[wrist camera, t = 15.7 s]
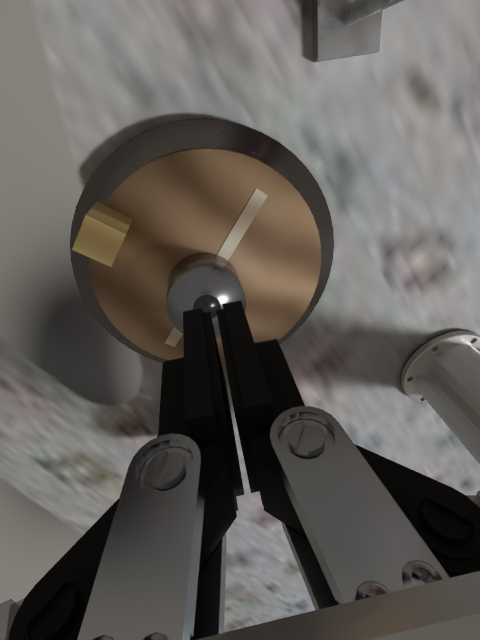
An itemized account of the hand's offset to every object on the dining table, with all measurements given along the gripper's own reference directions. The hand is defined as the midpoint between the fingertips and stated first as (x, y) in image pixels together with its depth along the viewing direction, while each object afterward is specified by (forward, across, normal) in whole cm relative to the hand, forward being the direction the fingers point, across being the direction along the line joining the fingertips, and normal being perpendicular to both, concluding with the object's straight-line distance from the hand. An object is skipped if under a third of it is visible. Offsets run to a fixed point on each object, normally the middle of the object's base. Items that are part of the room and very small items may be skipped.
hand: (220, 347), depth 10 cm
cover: (+22, +1, +9) cm, 24 cm away
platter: (+24, 0, +8) cm, 25 cm away
